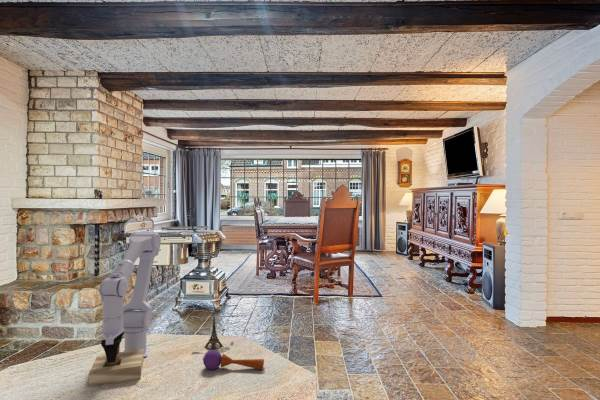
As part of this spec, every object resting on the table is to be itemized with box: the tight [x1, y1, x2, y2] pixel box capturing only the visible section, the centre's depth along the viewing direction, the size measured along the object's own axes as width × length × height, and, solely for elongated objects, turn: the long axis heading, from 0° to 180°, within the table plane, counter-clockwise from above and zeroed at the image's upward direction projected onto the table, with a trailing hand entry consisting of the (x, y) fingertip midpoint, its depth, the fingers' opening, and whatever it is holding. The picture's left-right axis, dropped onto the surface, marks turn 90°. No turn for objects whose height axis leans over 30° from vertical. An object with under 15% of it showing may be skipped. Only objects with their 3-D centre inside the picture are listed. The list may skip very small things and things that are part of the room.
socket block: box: [88, 349, 144, 387], centre depth 113 cm, size 13×14×4 cm
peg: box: [106, 344, 121, 367], centre depth 111 cm, size 4×4×8 cm
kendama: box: [202, 350, 265, 371], centre depth 117 cm, size 6×6×20 cm
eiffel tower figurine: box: [191, 315, 235, 355], centre depth 133 cm, size 15×10×13 cm
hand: (112, 359), depth 111 cm, fingers closed on peg, 4 cm apart
